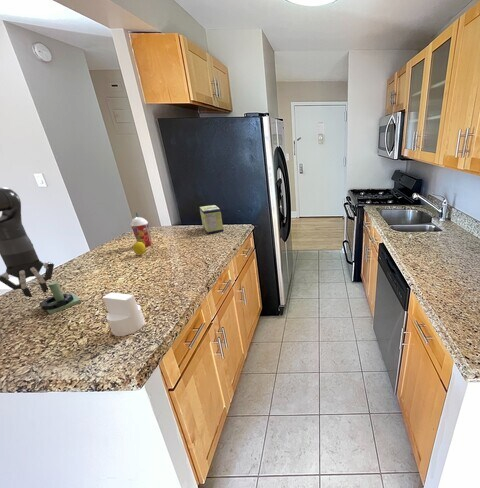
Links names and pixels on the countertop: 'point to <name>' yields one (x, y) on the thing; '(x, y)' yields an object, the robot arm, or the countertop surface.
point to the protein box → (211, 219)
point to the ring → (47, 306)
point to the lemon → (139, 248)
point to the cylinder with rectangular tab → (123, 314)
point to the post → (60, 297)
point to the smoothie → (141, 230)
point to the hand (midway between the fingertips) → (37, 294)
